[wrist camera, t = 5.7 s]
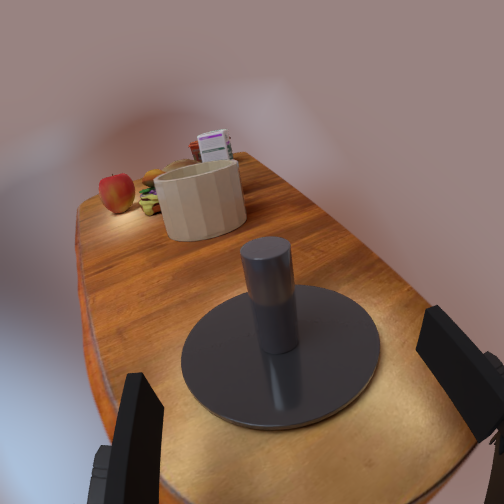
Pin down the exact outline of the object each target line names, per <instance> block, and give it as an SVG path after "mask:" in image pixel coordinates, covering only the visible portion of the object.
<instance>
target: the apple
mask: <svg viewBox="0 0 504 504" xmlns="http://www.w3.org/2000/svg"><path fill="white" fill-rule="evenodd" d="M99 195H100V199H101V201H102V203H103V205H104V206H105V207H106V208H107V209H108V210H110V211H112V212H114V213H122V212H125V211H126V210H127V209H129V208H130V206H131V205H132V203H133V201H134V198H135V187H134V184H133V181H132V180H131V178H130V177H129V176H128V175H127V174H124V173H122V174H119V175H114V176H113V174H112V176H111V177H106V178H104V179H102V180H101V181H100V183H99Z"/></svg>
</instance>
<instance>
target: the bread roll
mask: <svg viewBox="0 0 504 504" xmlns="http://www.w3.org/2000/svg"><path fill="white" fill-rule="evenodd" d="M197 163H200V162H198V161H195V160H190V159H183V160H179V161H175V162H173V163H171V164H169V165H167V166H166V167H165V168H164V169H163V170H162V171H164V172H169V171H172V170H175V169H178V168H181V167H185V166H189V165H193V164H197Z"/></svg>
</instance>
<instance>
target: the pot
mask: <svg viewBox="0 0 504 504" xmlns="http://www.w3.org/2000/svg"><path fill="white" fill-rule="evenodd" d="M153 181H154V185H155V189H156V193H157V197H158V201H159V205H160V209H161V213H162V216H163V220H164V224H165V227H166V231H167V234H168V236H169V237H170V238H171V239H173V240H176V241H198V240H205V239H209V238H213V237H217V236H220V235H223V234H226V233H228V232H230V231H233V230H235V229H236V228H238V227H240V226H241V225H242V224H243V223H244V222H245V221H246V219H247V215H246V214H247V211H246V206H245V200H244V194H243V188H242V183H241V177H240V171H239V165H238V161H237V160H233V159H225V160H215V161H208V162H203V163H197V164H193V165H189V166H185V167H181V168H178V169H175V170H172V171H169V172H166V173H164V174H162V175H159V176H157V177H156V178H155V179H153Z"/></svg>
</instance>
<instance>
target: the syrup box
mask: <svg viewBox="0 0 504 504" xmlns="http://www.w3.org/2000/svg"><path fill="white" fill-rule="evenodd" d="M197 139H198V143H199V148H200V153H201V158H202V162H208V161H215V160H225V159H233V154H232V149H231V144H230V139H229V134H228V130H227V129H222V130H216V131H211V132H208V133H205V134H202V135H199V136H197ZM233 160H234V159H233Z"/></svg>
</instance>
